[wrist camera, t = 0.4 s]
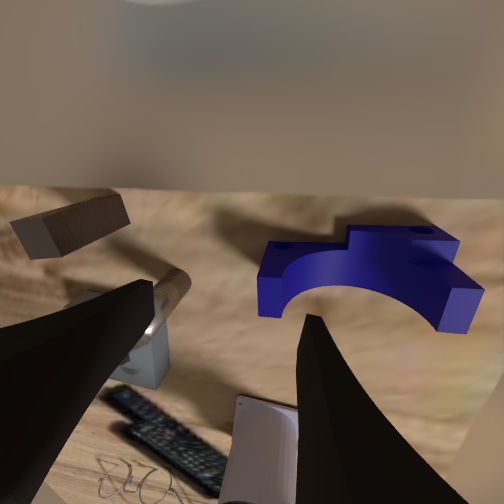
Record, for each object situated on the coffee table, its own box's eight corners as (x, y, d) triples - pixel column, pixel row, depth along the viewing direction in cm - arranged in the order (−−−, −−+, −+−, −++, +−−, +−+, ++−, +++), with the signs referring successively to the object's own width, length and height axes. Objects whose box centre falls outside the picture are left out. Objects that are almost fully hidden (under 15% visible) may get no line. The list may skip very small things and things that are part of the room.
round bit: (191, 294, 24) (152, 349, 18) (166, 289, 24) (119, 341, 18) (191, 271, 23) (149, 321, 16) (165, 266, 23) (114, 313, 17)
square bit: (130, 223, 22) (61, 257, 15) (106, 226, 22) (30, 259, 16) (120, 194, 21) (41, 217, 14) (94, 198, 21) (9, 221, 15)
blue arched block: (435, 225, 17) (495, 263, 12) (420, 280, 19) (466, 334, 14) (268, 223, 20) (255, 254, 14) (269, 272, 21) (258, 316, 16)
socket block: (169, 367, 29) (156, 390, 26) (101, 350, 30) (81, 371, 27) (165, 306, 25) (149, 326, 22) (87, 290, 26) (62, 307, 23)
